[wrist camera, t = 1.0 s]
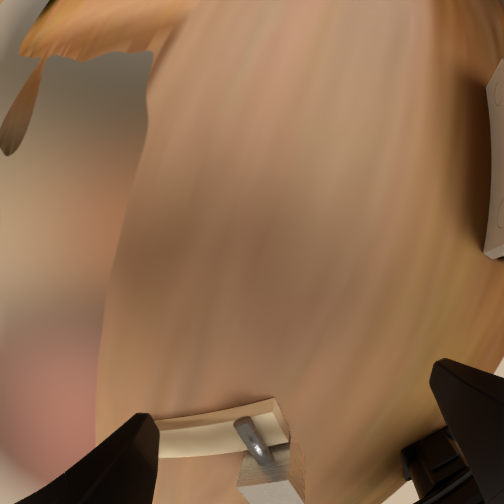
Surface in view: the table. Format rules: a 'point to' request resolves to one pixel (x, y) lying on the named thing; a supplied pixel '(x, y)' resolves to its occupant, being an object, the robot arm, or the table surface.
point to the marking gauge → (270, 468)
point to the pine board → (220, 430)
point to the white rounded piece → (496, 165)
